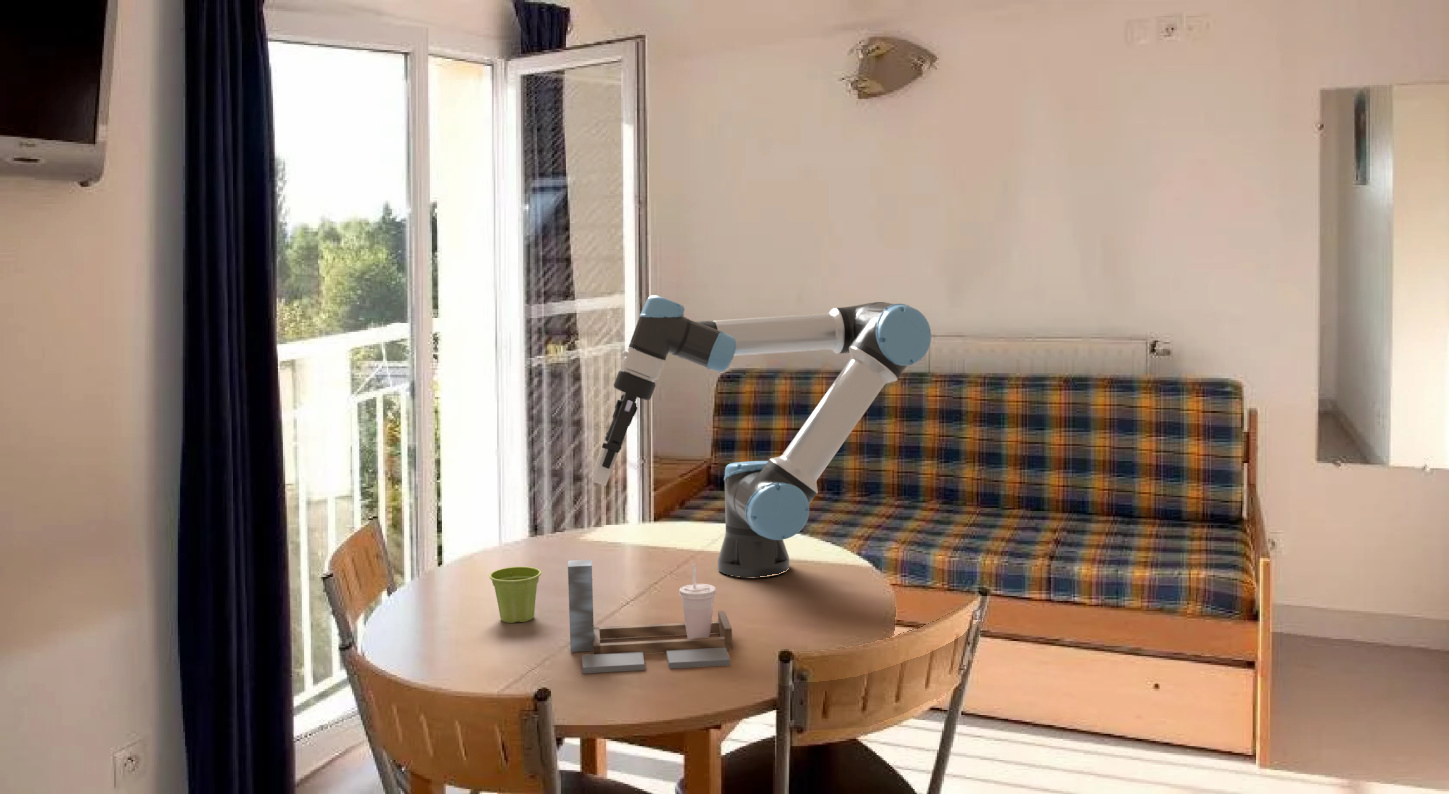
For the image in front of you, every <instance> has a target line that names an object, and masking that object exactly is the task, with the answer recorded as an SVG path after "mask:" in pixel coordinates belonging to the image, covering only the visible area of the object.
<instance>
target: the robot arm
mask: <svg viewBox="0 0 1449 794" xmlns="http://www.w3.org/2000/svg"><path fill="white" fill-rule="evenodd" d="M684 312H685V307H684V305H682V304H680V303H678V302H675V301H673V300H671V299H668V298H665V297H662V296H660V295H656V294H653V295H650V296H648V298H647V299H646V301H645V303H644V306H643V308H642V310H641V313H639V317H638V320H637V323H636V325H635V329H634V331H633V334H632V336H631V338H630V343H629V344H628V348H627V350H623V351H622V353H621V355H622V356H623V357H624V358H623V360H622V363H621V366H622V368H623V369H620V370H619V371H618V372H617V375H616V377H615V380H614V384H613V387H614V388H615V389H616V390H618V391H621V392H623V393H624V394H621V396H620V399H617V401H616V402H615V403H616V404H615V406H614V412H613V414H612V420H611V422H610V425H609V428H608V430H607V431H606V433H605V435H606V436H605V437H604V441H603V444H602V446H601V448H600V451H599V454H598V457H597V459H596V461H595V464H594V467H593V468H592V473H594V475H593V477H592V480H591V482H592V483H595V484H598V485H601V486H604V487H606V486H607V484H608V482H609V478H610V476H611V474H612V470H613V469H614V465H615V464H616V461H617V458H618V456H619V453H620V452H621V449H622V445H623V442H624V439H625V436H626V434H627V431H628V428H629V427H630V426H631V424H632V422H633V418H634V417H635V415H636V413H637V410H638V406H637V402H636V401H637V398H639V399H641V400H645V401H650V400H651V399H652V396H653V393H654V391H655V388H656V382H655V381H657V380H659V379H660V377H661V374H662V371H663V368H664V366H665V363H666V359H667V357H668V355H669V354H671V355H673V356H676V357H677V358H679V359H683V360H685V361H689V362H691V363H694V364H695V365H698V366H701V367H703V368H706V369H707V370H712V371H715V372H718V373H723V372H725V371H726V370H727V369H728V368H729V366H730V365H731V363H732V361H733V359H734V357H735V356H737V357H738V356H753V355H766V354H768V355H769V354H782V353H796V352H797V353H798V352H811V351H812V352H814V351H815V352H816V351H828V350H829V351H832V352H833V353H834V354H837V355H839V354H840V355H841V354H849V357H850V358H849V360H848V361H847V363H846V365H845V366H844V368H842V370H841V371H840V372H839V374H838V376H837V377H836V378H835V380H834V381H833V383H832V384H831V385H830V386H829V388H828V390H826V393H825V394H824V395H823V396H822V398H821V399H820V401H819V403H818V404H817V405H816V406H815V408H814V409H813V411H812V412H811V414H810V415H809V416H808V418H807V419H806V420H805V422H804V423H803V425H802V426H801V428H800V429H799V431H798V432H797V433H796V435H794V438H793V439H792V440H791V442H790V443H789V444H788V446H787V447H786V449H785V450H784V451H783V453H782V454H781V455H780V456H776V457H771V458H768V460H754V461H752V460H751V461H749V460H748V461H740V462H739V461H738V462H737V461H736V462H730V463H729V464H727V465H726V466H725V469H724V477H723V481H724V509H725V511H724V512H725V513H724V514H725V517H724V518H725V534H724V535H725V536H724V538H723V541H722V545H721V547H720V551H719V555H718V558H717V570H719V571H720V572H722V573H724V574H728V575H733V576H740V577H760V576H767V575H772V574H779V573H781V572H783V571H786V570H787V569H788V568H789V566H790V565H791V564H790V556H789V554H788V550H787V548H786V544H785V541H784V540H786V539H787V540H788V539H789V538H793V537H794V536H796V535H797V534H798V533H800V531H802V530H803V528H804V527H805V525H807V522H808V520H809V515H810V505H811V503H812V501H813V499H815V497H816V495H817V494H818V493H819V491H818V484H817V483H818V482H817V481H818V479H819V478H820V477H821V475H822V474H823V472H824V471H825V470H826V468H827V466H828V465H829V464H830V463H831V461H832V460H833V458H834V457H835V455H836V454H837V453H838V451H839V450H840V448H841V447H842V445H843V444H844V443H845V441H846V440H847V438H848V437H849V435H850V434H851V433H852V431H853V430H854V429H855V427H856V426H857V425H858V424H859V423H858V422H860V420H861V419H862V417H863V416H864V415H865V413H866V412H867V410H868V409H869V408H870V406H871V405H872V403H873V402H874V401H875V399H876V397H877V396H878V395H879V393H880V392H881V390H882V389H883V387H884V386H885V385H886V384H889V383H894V382H897V381H898V380H899V378H900V377H901V375H902V374H903V373H904V372H905V370H906V369H907V367H908V366H913V365H914V364H916V363H918V362H919V361H921V360H922V359H923V358H924V357H925V356H926V354H927V353H928V351H929V350H930V346H931V342H932V331H931V326H930V323H929V321H928V319H927V318H926V316H925V315H924V314H923V313H922V312H921V311H920V310H918V309H917V308H914V307H912V306H910V305H908V304H905V303H889V302H885V301H876V302H868V303H863V304H857V305H851V306H843V307H832V308H831V309H830V310H829V312H826V313H812V314H797V315H796V314H794V315H780V316H778V315H777V316H767V317H766V316H765V317H763V316H762V317H750V318H749V317H748V318H747V317H746V318H734V319H732V318H731V319H719V320H702V321H694V320H691V319H690V318H687V317H686V316H684V315H685V314H684ZM719 571H718V572H719ZM720 572H719V573H720ZM722 573H721V574H722ZM724 574H723V575H724ZM728 575H727V576H728Z"/></svg>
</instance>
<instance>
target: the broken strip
mask: <svg viewBox="0 0 1449 794" xmlns="http://www.w3.org/2000/svg"><path fill="white" fill-rule="evenodd" d="M665 654H666V660H667V664H668V665H667V666H668V669H671V670H672V669H687V668H691V669H692V668H705V667H707V668H709V667H723V666H731V658H730V656H729V653H728V649H726V647H724V648H705V649H686V650H667V651H666V653H665ZM581 658H582V662H581V663H582V674H596V673H617V672H618V673H619V672H633V671H645V669H646V668H645V659H644V654H643V652H630V653H611V654H593V653H592V654H582V657H581Z"/></svg>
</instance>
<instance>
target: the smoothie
mask: <svg viewBox="0 0 1449 794" xmlns="http://www.w3.org/2000/svg"><path fill="white" fill-rule="evenodd" d="M691 565H692V569H691V570H692V584H686V585H683V586H681V587H680V588H679V593H678V594H679V595H678V596H679V597H681V605H682V610H683V617H684V623H685V626H686V633H687V635H686V637H687V638H686V639H694V638H711V633H710V631H711V622H712V621H713V612H714V611H713V610H714V602H715V596H716V595H717V588H716V586H714V585H711V584H707V583H697V570H696V569H697V567H696V565H697V564H696V563H692V564H691Z"/></svg>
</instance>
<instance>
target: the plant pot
mask: <svg viewBox="0 0 1449 794" xmlns="http://www.w3.org/2000/svg"><path fill="white" fill-rule="evenodd" d="M488 576H489V580H491V583H492V586H493V587H494V591H495V595H496V596H495V597H496V601H497V605H498V612H499V617H500V620H501V621H502V622H504V623H508V624H514V623H516V622H520V623H525V622H529V621H531V620H533V619H534V617H535V611H536V610H535V609H536V598H537V590H538V589H537V587H538V583H539V579H540V578H539V577H540V576H542V571H541V570H540V569H539V568H536V567H533V566H532V567H531V566H511V567H510V566H509V567H504V568H499V569H497V570H494V571H492V572H490V573H489V575H488Z"/></svg>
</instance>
